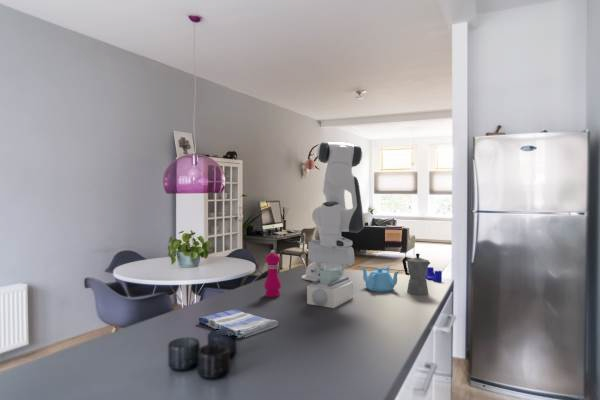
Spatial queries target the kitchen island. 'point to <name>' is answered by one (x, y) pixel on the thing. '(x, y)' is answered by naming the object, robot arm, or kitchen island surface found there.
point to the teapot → (380, 280)
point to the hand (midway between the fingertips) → (330, 274)
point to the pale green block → (329, 275)
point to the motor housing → (330, 292)
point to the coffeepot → (416, 275)
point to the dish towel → (238, 322)
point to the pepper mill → (272, 275)
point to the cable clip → (434, 275)
